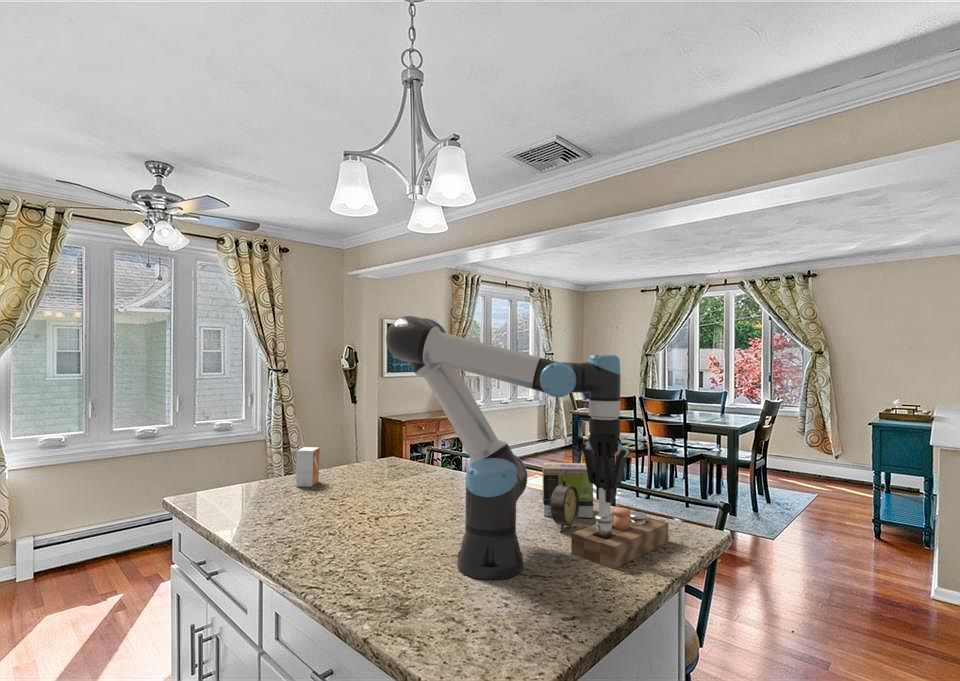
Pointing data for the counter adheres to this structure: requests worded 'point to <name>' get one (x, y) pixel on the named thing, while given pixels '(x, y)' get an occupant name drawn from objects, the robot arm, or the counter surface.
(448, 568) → the counter surface
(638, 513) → the grey plug far
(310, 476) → the small box
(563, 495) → the alarm clock
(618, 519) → the terracotta plug
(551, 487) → the tea box
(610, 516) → the grey plug near
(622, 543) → the walnut block
